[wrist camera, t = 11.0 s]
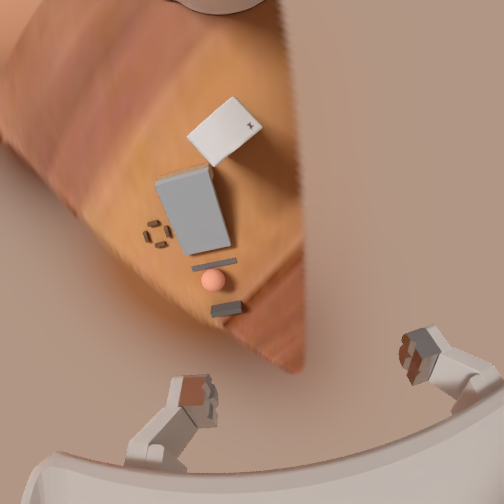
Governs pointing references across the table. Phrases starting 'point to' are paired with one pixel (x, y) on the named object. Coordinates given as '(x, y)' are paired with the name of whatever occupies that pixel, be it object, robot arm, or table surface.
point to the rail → (226, 309)
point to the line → (214, 264)
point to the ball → (213, 280)
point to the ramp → (193, 208)
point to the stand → (164, 230)
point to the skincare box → (224, 131)
